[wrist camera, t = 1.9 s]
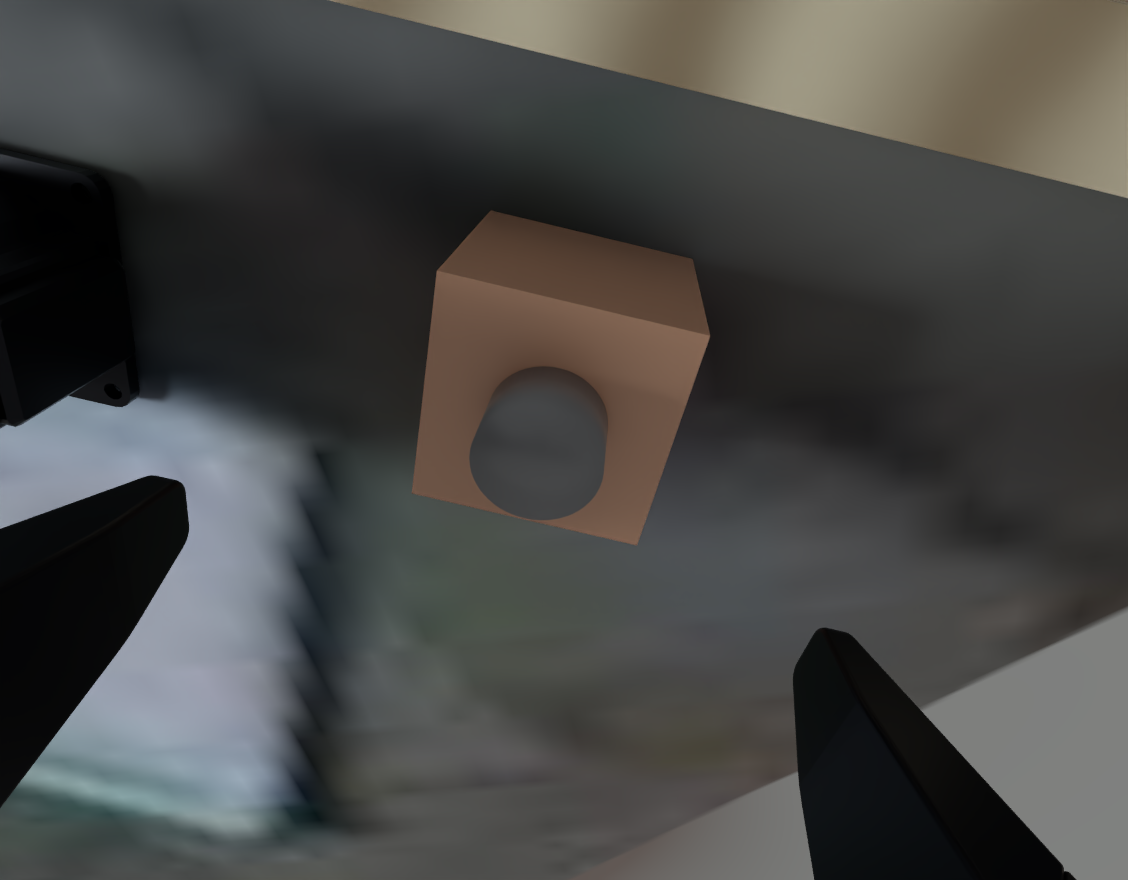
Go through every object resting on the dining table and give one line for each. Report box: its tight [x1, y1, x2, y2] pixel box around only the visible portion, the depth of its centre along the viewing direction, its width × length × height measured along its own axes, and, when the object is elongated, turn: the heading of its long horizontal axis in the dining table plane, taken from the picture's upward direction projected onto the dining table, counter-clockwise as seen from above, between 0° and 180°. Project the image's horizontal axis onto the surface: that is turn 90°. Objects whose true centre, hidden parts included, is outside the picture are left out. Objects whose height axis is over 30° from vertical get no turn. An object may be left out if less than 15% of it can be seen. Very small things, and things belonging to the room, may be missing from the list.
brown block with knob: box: [412, 211, 710, 545], centre depth 15 cm, size 5×5×7 cm
